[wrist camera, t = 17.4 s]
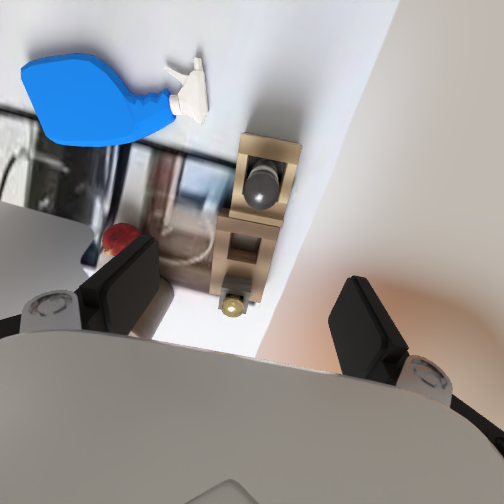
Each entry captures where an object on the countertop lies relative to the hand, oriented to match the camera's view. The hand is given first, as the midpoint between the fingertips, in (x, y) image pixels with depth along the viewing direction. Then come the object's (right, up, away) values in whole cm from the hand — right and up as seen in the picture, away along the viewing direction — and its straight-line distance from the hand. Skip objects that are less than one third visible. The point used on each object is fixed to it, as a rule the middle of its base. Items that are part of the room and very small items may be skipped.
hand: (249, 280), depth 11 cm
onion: (-22, +5, +32) cm, 39 cm away
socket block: (-1, +1, +32) cm, 32 cm away
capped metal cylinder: (+2, +14, +25) cm, 28 cm away
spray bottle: (-18, +23, +22) cm, 37 cm away
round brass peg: (-3, -6, +30) cm, 31 cm away
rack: (+2, +14, +25) cm, 28 cm away
